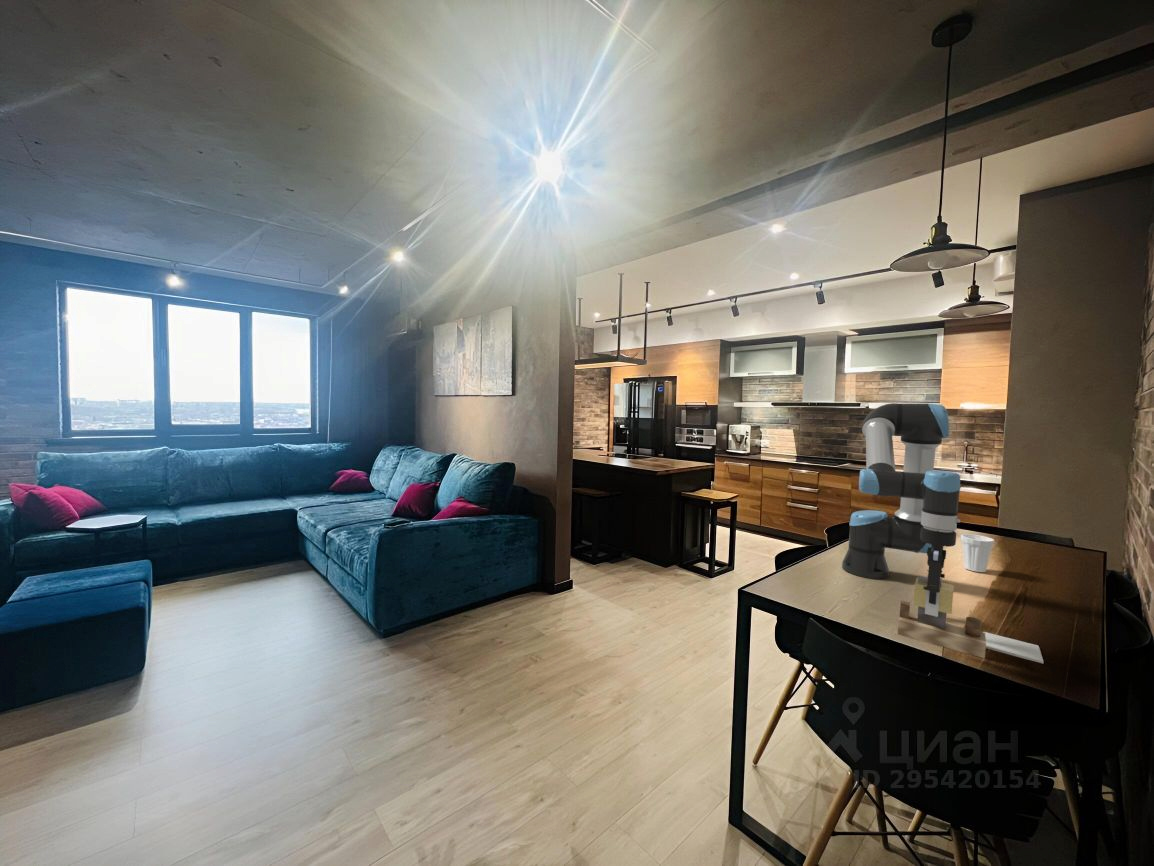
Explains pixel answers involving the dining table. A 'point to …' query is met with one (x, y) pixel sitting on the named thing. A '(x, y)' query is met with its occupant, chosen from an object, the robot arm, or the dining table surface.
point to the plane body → (942, 631)
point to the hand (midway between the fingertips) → (932, 607)
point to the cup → (976, 551)
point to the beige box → (944, 597)
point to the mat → (1013, 647)
